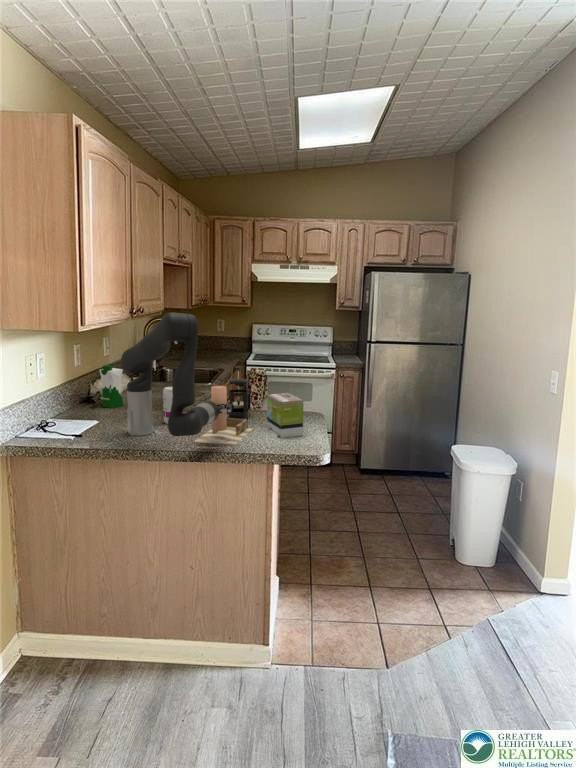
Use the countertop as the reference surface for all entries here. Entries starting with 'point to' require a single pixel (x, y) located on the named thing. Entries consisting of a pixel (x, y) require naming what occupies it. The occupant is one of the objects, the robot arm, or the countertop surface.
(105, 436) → the countertop surface
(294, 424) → the tea box
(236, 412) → the french press
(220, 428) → the dome-topped peach cylinder
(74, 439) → the countertop surface
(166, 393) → the supplement can
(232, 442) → the dock
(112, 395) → the milk carton
